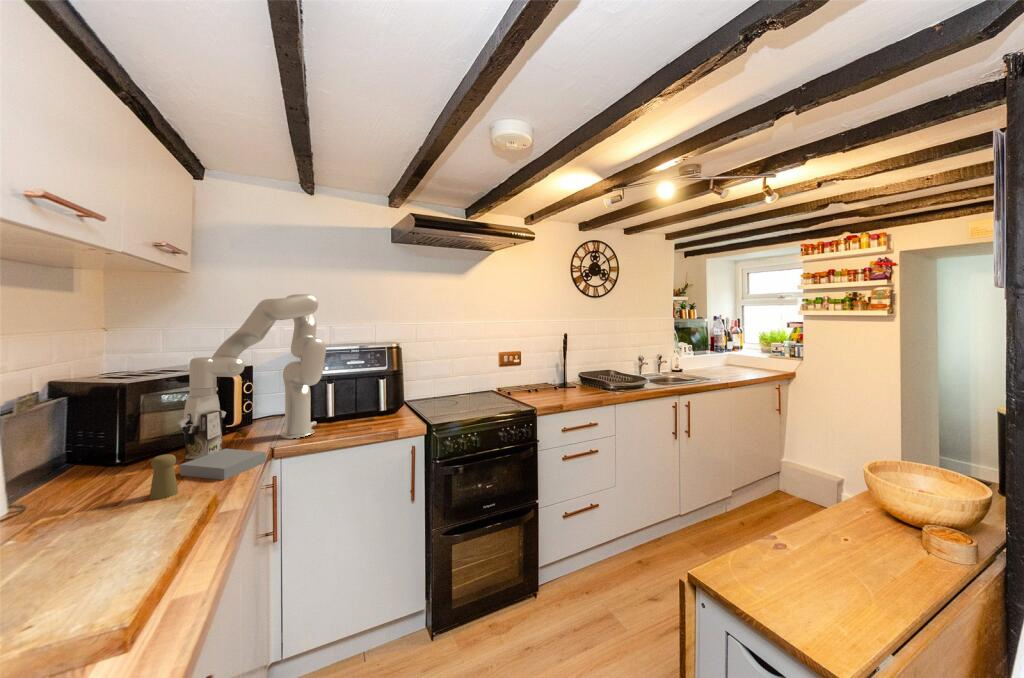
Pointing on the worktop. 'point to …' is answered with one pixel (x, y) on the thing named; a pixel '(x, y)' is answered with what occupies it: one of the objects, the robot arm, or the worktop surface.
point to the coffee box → (206, 436)
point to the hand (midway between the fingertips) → (203, 440)
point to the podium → (222, 464)
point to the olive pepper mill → (163, 477)
